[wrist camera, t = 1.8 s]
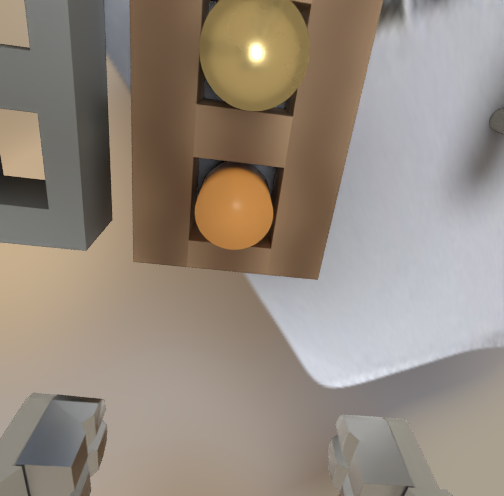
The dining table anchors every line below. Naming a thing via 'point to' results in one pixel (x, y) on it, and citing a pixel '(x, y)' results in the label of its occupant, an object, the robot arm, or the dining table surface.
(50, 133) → the rack
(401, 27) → the dining table surface
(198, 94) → the socket base
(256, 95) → the gold metal peg
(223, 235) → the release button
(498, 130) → the mechanical component
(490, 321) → the dining table surface
